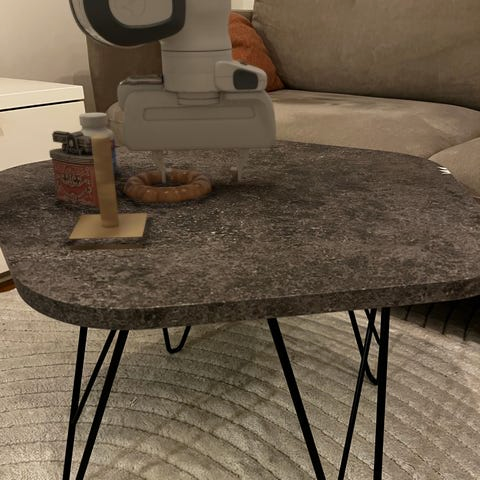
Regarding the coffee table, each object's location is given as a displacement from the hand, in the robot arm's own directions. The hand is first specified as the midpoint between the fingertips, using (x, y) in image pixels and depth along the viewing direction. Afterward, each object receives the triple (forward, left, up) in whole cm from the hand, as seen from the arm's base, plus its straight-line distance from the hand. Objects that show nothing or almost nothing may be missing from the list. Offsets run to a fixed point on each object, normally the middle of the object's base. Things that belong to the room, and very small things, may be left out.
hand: (202, 181), depth 82 cm
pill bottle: (-16, +10, -2) cm, 19 cm away
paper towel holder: (-11, -15, -2) cm, 18 cm away
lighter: (-16, -4, -2) cm, 17 cm away
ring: (-5, 0, -1) cm, 5 cm away
